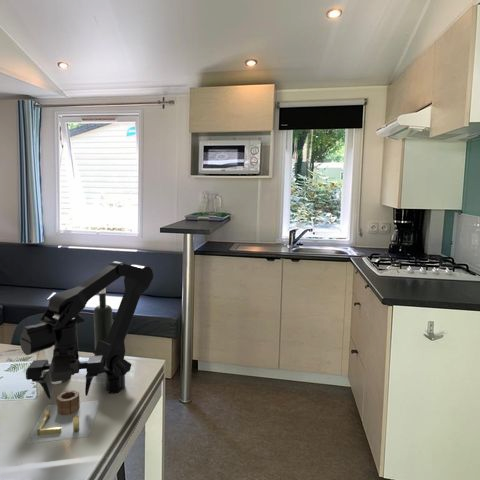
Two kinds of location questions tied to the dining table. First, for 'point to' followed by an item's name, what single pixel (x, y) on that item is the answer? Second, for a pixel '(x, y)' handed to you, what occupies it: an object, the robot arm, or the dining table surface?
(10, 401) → the dining table surface
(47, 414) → the bent rail
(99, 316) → the wine bottle
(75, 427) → the end peg
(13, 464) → the dining table surface
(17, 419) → the dining table surface
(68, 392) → the walnut ring
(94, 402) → the slate board
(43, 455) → the dining table surface
